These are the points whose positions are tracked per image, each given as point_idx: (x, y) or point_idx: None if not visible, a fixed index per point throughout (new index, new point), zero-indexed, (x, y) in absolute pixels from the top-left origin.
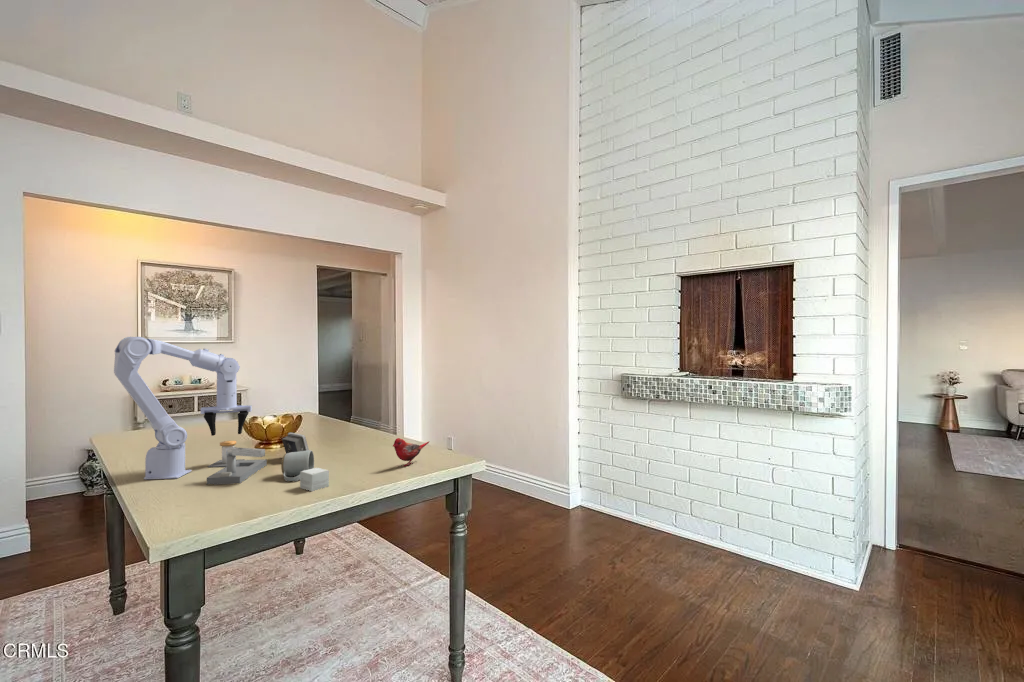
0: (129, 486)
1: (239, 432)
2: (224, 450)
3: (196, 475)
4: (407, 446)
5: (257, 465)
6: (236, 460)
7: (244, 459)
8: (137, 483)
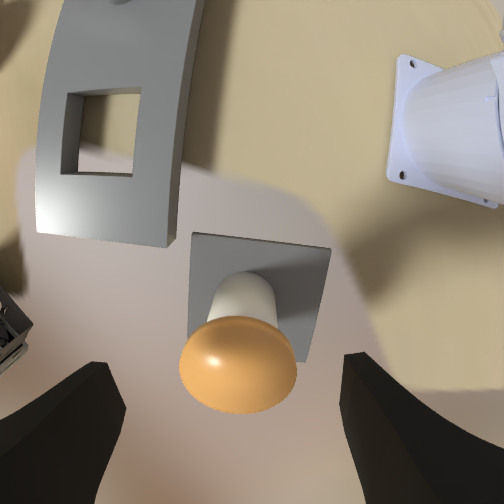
0: None
1: (84, 366)
2: (252, 311)
3: (333, 89)
4: None
5: (40, 111)
6: None
7: None
8: None
